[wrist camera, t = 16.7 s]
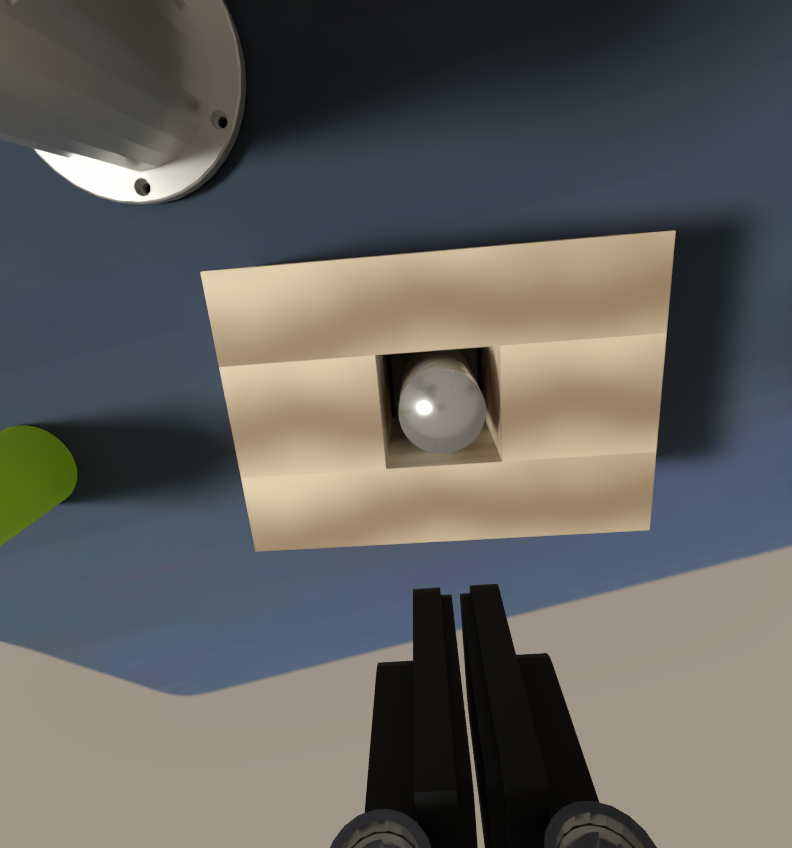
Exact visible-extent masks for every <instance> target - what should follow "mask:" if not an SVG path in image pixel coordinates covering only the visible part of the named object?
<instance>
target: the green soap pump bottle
mask: <svg viewBox="0 0 792 848" xmlns="http://www.w3.org/2000/svg"><path fill="white" fill-rule="evenodd" d="M76 482H77V467H76V463H75V461H74V458H73V456H72V454H71V453H70V451H69V450H68V448H67V447H66V446H65V445H64V444H63V443H62V442H61V441H60V440H59V439H58V438H57V437H55V436H54V435H53V434H51V433H49V432H47V431H45V430H43V429H40V428H37V427H34V426H27V425H18V426H13V427H9V428H7V429H4V430H2V431H0V546H1V545H2V544H4V543H5V542H7V541H8V540H9V539H11V538H12V537H13V536H15V535H16V534H18V533H19V532H20V531H22V530H23V529H25V528H26V527H27V526H29V525H30V524H32V523H33V522H34V521H36V520H37V519H39V518H40V517H41V516H43V515H44V514H46V513H47V512H48V511H50V510H51V509H53V508H54V507H55V506H57V505H58V504H60V503H61V502H62V501H64V500H65V499H66V498H68V497H69V496H70V494H71V493H72V492H73V490H74V488H75V486H76Z"/></svg>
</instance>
